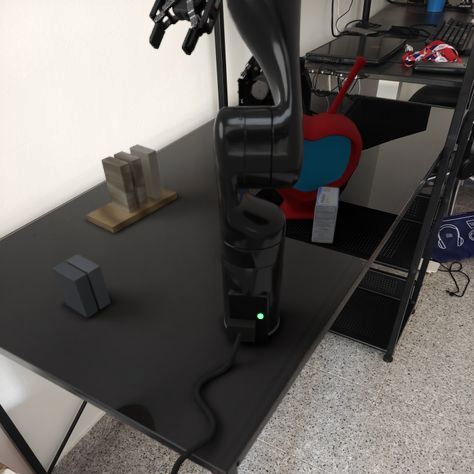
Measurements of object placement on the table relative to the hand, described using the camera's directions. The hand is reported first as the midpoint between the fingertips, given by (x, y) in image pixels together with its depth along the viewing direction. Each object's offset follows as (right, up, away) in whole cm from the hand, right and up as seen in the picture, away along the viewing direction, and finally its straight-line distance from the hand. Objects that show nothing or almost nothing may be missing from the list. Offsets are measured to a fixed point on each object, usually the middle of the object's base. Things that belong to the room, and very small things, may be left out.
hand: (169, 49), depth 81 cm
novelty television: (+28, -24, +19) cm, 42 cm away
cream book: (-8, -19, +22) cm, 30 cm away
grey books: (-14, -49, -4) cm, 51 cm away
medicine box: (+31, -32, +11) cm, 46 cm away
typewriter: (+28, -3, +40) cm, 48 cm away
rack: (-11, -24, +20) cm, 33 cm away
